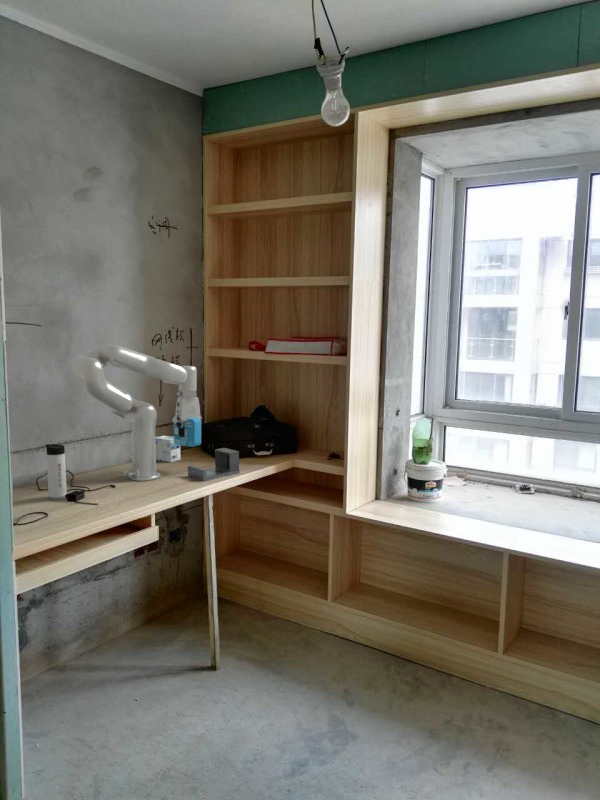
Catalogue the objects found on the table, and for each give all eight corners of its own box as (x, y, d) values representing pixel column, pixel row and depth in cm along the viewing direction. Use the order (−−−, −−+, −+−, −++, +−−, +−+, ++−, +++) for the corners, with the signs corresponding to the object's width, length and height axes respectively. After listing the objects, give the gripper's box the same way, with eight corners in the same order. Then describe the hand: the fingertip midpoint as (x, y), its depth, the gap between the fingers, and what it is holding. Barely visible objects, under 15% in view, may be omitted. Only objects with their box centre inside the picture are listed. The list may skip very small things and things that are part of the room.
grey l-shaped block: (203, 481, 258) (203, 458, 256) (187, 476, 265) (187, 454, 264) (239, 473, 271) (239, 451, 270) (223, 468, 279) (223, 447, 277)
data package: (173, 444, 276) (173, 417, 275) (180, 442, 280) (180, 415, 278) (194, 447, 270) (194, 419, 268) (201, 446, 273) (201, 418, 272)
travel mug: (51, 495, 236) (48, 442, 233) (69, 495, 236) (66, 442, 234) (45, 500, 230) (42, 446, 227) (63, 500, 230) (61, 446, 228)
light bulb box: (181, 460, 296) (180, 437, 294) (171, 462, 290) (170, 439, 288) (164, 457, 301) (163, 434, 300) (154, 459, 296) (153, 437, 294)
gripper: (175, 396, 264) (175, 439, 266) (208, 394, 276) (208, 435, 278) (165, 394, 269) (165, 436, 271) (198, 392, 281) (198, 433, 283)
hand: (187, 435), depth 274 cm, fingers closed on data package, 5 cm apart
